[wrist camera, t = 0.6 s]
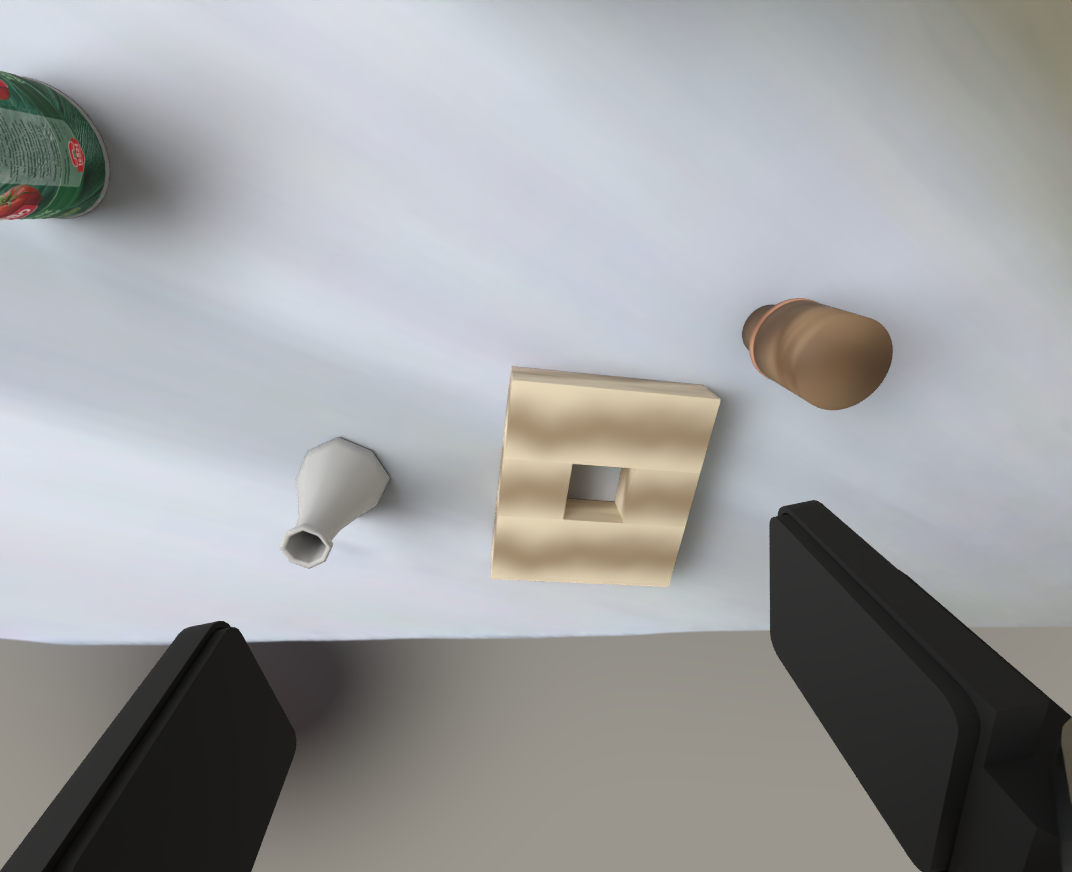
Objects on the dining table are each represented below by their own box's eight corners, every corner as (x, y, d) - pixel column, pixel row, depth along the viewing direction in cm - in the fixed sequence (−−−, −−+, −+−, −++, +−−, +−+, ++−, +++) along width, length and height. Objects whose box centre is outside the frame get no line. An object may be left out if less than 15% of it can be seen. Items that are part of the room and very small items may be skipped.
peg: (741, 286, 40) (816, 310, 31) (814, 295, 40) (909, 321, 31) (720, 363, 42) (784, 406, 33) (790, 370, 43) (871, 414, 34)
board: (511, 366, 41) (512, 379, 38) (703, 385, 43) (720, 399, 40) (490, 553, 48) (491, 578, 45) (657, 562, 50) (668, 586, 47)
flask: (406, 476, 44) (383, 546, 35) (351, 528, 46) (316, 608, 36) (336, 420, 42) (293, 480, 32) (281, 477, 43) (224, 550, 34)
